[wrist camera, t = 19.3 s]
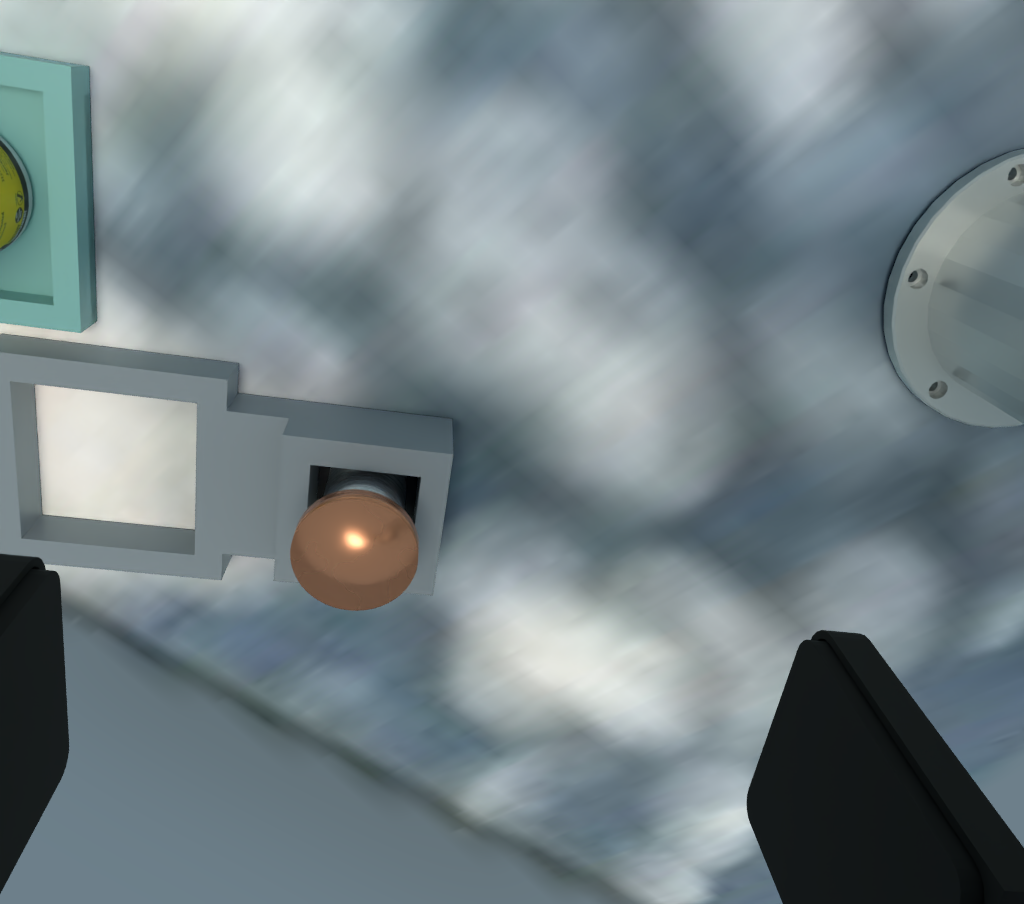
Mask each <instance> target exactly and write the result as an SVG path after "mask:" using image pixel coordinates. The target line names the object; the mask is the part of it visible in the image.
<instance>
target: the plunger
mask: <svg viewBox="0 0 1024 904" xmlns="http://www.w3.org/2000/svg"><path fill="white" fill-rule="evenodd" d="M406 487H407V475H398V474H389V473H380V472H371V471H362V470H353V469H344V468H335V467H331V470H330V473H329V477H328V480H327V484H326V488H325V491H324V495H323V497H322V498H320V499H319V500H317V501H315V502H314V503H313V504H312V505H311V506H309V508H308V509H307V510H306V511H305V512H304V513H303V515H302V516H301V518H300V520H299V522H298V524H297V527H296V530H295V533H294V536H293V540H292V543H291V549H290V560H291V566H292V569H293V572H294V574H295V576H296V578H297V580H298V581H299V583H300V584H301V586H302V587H303V588H304V589H305V590H306V591H307V592H308V593H309V594H310V595H311V596H313V597H314V598H316V599H317V600H319V601H321V602H323V603H324V604H327V605H329V606H332V607H335V608H339V609H344V610H356V611H358V610H368V609H373V608H377V607H380V606H383V605H385V604H387V603H389V602H391V601H393V600H394V599H396V598H397V597H398V596H400V595H401V594H402V593H403V592H404V591H405V590H406V589H407V587H408V586H409V585H410V583H411V582H412V580H413V578H414V576H415V573H416V570H417V566H418V553H419V539H418V534H417V530H416V527H415V525H414V523H413V521H412V519H411V518H410V516H409V515H408V514H407V512H406V511H405V499H406Z"/></svg>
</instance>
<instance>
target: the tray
mask: <svg viewBox="0 0 1024 904" xmlns="http://www.w3.org/2000/svg"><path fill="white" fill-rule="evenodd" d="M0 136H1V137H2V138H3V139H4V140H5V141H6V142H7V143H8V144H9V145H10V146H11V147H12V148H13V150H14V151H15V152H16V154H17V155H18V157H19V158H20V160H21V161H22V163H23V165H24V167H25V169H26V172H27V174H28V177H29V180H30V183H31V188H32V196H33V200H32V211H31V215H30V219H29V221H28V224H27V226H26V228H25V230H24V231H23V233H22V234H21V235H20V237H19V238H18V239H17V240H16V241H15V242H13V243H12V244H11V245H10V246H8V247H7V248H5V249H3V250H2V251H0V323H6V324H14V325H22V326H30V327H38V328H46V329H54V330H62V331H70V332H77V333H82V332H83V331H84V330H86V329H87V328H88V327H90V326H91V325H92V324H94V323H95V322H96V321H97V306H96V274H95V241H94V209H93V176H92V144H91V111H90V79H89V66H84V65H77V64H71V63H65V62H59V61H53V60H47V59H41V58H35V57H29V56H23V55H17V54H11V53H5V52H0Z"/></svg>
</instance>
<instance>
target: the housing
mask: <svg viewBox="0 0 1024 904" xmlns="http://www.w3.org/2000/svg"><path fill="white" fill-rule="evenodd" d="M238 369H239V363H233V362H225V361H217V360H209V359H201V358H193V357H184V356H176V355H168V354H160V353H152V352H144V351H136V350H128V349H120V348H112V347H104V346H96V345H88V344H80V343H72V342H64V341H56V340H48V339H40V338H32V337H24V336H16V335H8V334H0V554H10V555H21V556H32V557H39V558H40V559H42V560H43V563H44V564H51V565H62V566H73V567H84V568H95V569H105V570H116V571H127V572H138V573H149V574H160V575H170V576H181V577H192V578H203V579H214V580H222V577H223V575H224V573H225V570H226V568H227V566H228V563H229V561H230V559H231V556H232V555H238V556H248V557H259V558H269V559H275V567H274V581H280V582H290V583H299V581H298V580H297V578H296V576H295V574H294V572H293V569H292V566H291V560H290V549H291V543H292V540H293V536H294V533H295V530H296V527H297V524H298V522H299V520H300V518H301V516H302V515H303V513H304V512H305V511H306V510H307V509H308V508H309V506H311V505H312V504H313V503H314V502H315V501H317V490H318V477H319V466H326V467H335V468H344V469H353V470H362V471H371V472H380V473H389V474H398V475H407V476H416V477H418V483H417V491H416V499H415V507H414V514H413V523H414V525H415V527H416V530H417V534H418V539H419V553H418V566H417V570H416V573H415V576H414V578H413V580H412V582H411V583H410V585H409V586H408V587H407V589H406V590H405V591H404V592H403V593H409V594H420V595H430V596H433V592H434V585H435V578H436V571H437V564H438V557H439V550H440V544H441V537H442V530H443V523H444V516H445V509H446V502H447V495H448V488H449V481H450V474H451V468H452V461H453V426H452V419H450V418H441V417H433V416H425V415H416V414H408V413H400V412H391V411H383V410H375V409H366V408H358V407H350V406H341V405H333V404H325V403H316V402H308V401H300V400H291V399H283V398H275V397H266V396H258V395H250V394H241V393H238ZM34 384H38V385H47V386H55V387H64V388H72V389H81V390H89V391H98V392H106V393H115V394H123V395H132V396H140V397H149V398H157V399H166V400H174V401H183V402H191V403H197V445H196V505H195V530H188V529H178V528H168V527H158V526H148V525H138V524H128V523H118V522H108V521H98V520H88V519H77V518H67V517H57V516H47V515H42V503H41V487H40V471H39V455H38V439H37V423H36V407H35V390H34Z"/></svg>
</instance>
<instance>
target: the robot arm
mask: <svg viewBox="0 0 1024 904" xmlns="http://www.w3.org/2000/svg"><path fill="white" fill-rule="evenodd" d="M1009 172H1010V175H1009V176H1008V174H1009ZM912 272H913V275H912V277H911V278H910V279H908V278H909V276H910V274H911V273H912ZM884 334H885V339H886V344H887V349H888V353H889V356H890V358H891V361H892V363H893V365H894V367H895V369H896V372H897V374H898V376H899V377H900V378H901V380H902V381H903V382H904V383H905V385H906V386H907V387H908V389H909V390H910V391H911V392H912V393H913V394H914V395H915V396H917V397H918V398H919V399H920V400H922V401H923V402H924V403H925V404H926V405H928V406H929V407H931V408H932V409H934V410H936V411H937V412H939V413H940V414H942V415H944V416H945V417H947V418H950V419H953V420H955V421H958V422H961V423H964V424H967V425H973V426H980V427H988V428H998V427H1015V426H1020V425H1024V149H1020V150H1016V151H1012V152H1009V153H1006V154H1004V155H1002V156H1000V157H997V158H995V159H993V160H991V161H988V162H986V163H984V164H982V165H980V166H979V167H977V168H976V169H974V170H973V171H971V172H970V173H968V174H967V175H965V176H964V177H962V178H961V179H959V180H957V181H956V182H955V183H954V184H953V185H952V186H951V187H950V188H948V189H947V190H946V191H945V192H944V193H943V194H942V195H941V196H940V197H939V198H937V199H936V200H935V201H934V202H933V203H932V205H931V206H930V207H929V208H928V210H927V211H926V212H925V213H924V215H923V216H922V217H921V218H920V219H919V221H918V222H917V223H916V224H915V226H914V227H913V229H912V231H911V232H910V234H909V236H908V238H907V239H906V241H905V243H904V245H903V246H902V248H901V250H900V251H899V254H898V257H897V259H896V262H895V264H894V267H893V270H892V272H891V275H890V278H889V282H888V287H887V292H886V297H885V302H884ZM64 662H65V661H64V643H63V624H62V606H61V588H60V578H59V575H58V573H57V572H56V571H49V570H45V565H44V563H43V560H42V559H40V558H39V557H32V556H21V555H10V554H0V893H1V891H2V889H3V888H4V886H5V884H6V882H7V880H8V878H9V876H10V874H11V872H12V871H13V869H14V867H15V865H16V863H17V861H18V859H19V857H20V855H21V854H22V852H23V850H24V848H25V846H26V844H27V842H28V840H29V839H30V837H31V835H32V833H33V831H34V829H35V827H36V825H37V824H38V822H39V820H40V818H41V816H42V814H43V812H44V810H45V808H46V807H47V805H48V803H49V801H50V799H51V797H52V795H53V793H54V792H55V790H56V788H57V786H58V784H59V782H60V780H61V778H62V776H63V773H64V770H65V767H66V763H67V759H68V753H69V734H68V716H67V698H66V681H65V680H66V679H65V663H64ZM747 812H748V818H749V821H750V824H751V826H752V829H753V831H754V834H755V836H756V839H757V841H758V843H759V846H760V848H761V851H762V853H763V856H764V858H765V861H766V863H767V866H768V868H769V871H770V873H771V875H772V878H773V880H774V883H775V885H776V888H777V890H778V893H779V895H780V898H781V900H782V902H783V904H1024V848H1023V846H1022V845H1021V844H1020V842H1019V841H1018V840H1017V838H1016V837H1015V835H1014V834H1013V833H1012V832H1011V830H1010V829H1009V828H1008V826H1007V825H1006V823H1005V822H1004V821H1003V819H1002V818H1001V817H1000V815H999V814H998V813H997V811H996V810H995V808H994V807H993V806H992V805H991V803H990V802H989V800H988V799H987V798H986V796H985V795H984V794H983V792H982V791H981V790H980V788H979V787H978V786H977V784H976V783H975V782H974V780H973V779H972V778H971V776H970V775H969V773H968V772H967V771H966V769H965V768H964V767H963V765H962V764H961V763H960V761H959V760H958V759H957V757H956V756H955V755H954V753H953V752H952V751H951V749H950V748H949V747H948V745H947V744H946V742H945V741H944V740H943V738H942V737H941V736H940V734H939V733H938V732H937V730H936V729H935V728H934V726H933V725H932V724H931V722H930V721H929V720H928V718H927V717H926V716H925V714H924V713H923V712H922V710H921V709H920V707H919V706H918V705H917V703H916V702H915V701H914V699H913V698H912V697H911V695H910V694H909V693H908V691H907V690H906V689H905V687H904V686H903V685H902V683H901V682H900V681H899V679H898V678H897V676H896V675H895V674H894V672H893V671H892V670H891V668H890V667H889V666H888V664H887V663H886V662H885V660H884V659H883V658H882V656H881V655H880V654H879V652H878V651H877V650H876V648H875V647H874V645H873V644H872V643H871V641H870V640H869V639H868V638H867V637H866V636H865V635H862V634H858V633H847V632H836V631H826V630H821V631H818V632H816V633H815V634H814V635H813V637H812V639H811V640H805V641H803V642H802V643H801V644H800V646H799V648H798V650H797V653H796V656H795V659H794V661H793V664H792V667H791V670H790V673H789V676H788V679H787V681H786V684H785V687H784V690H783V693H782V696H781V699H780V701H779V704H778V707H777V710H776V713H775V716H774V719H773V721H772V724H771V727H770V730H769V733H768V736H767V739H766V741H765V744H764V747H763V750H762V753H761V756H760V759H759V761H758V764H757V767H756V770H755V773H754V776H753V779H752V781H751V784H750V787H749V790H748V794H747Z"/></svg>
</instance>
